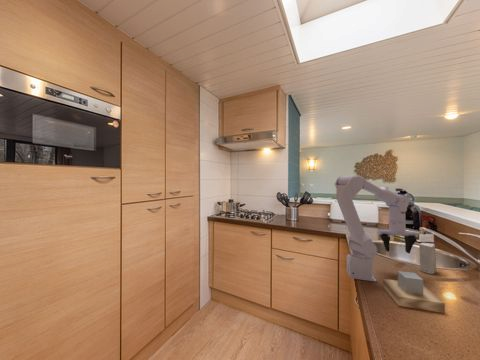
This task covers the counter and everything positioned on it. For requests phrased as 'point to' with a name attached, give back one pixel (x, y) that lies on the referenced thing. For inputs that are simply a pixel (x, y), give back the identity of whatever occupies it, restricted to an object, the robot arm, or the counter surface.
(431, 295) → the oak base
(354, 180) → the robot arm
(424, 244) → the skincare box
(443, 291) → the counter surface
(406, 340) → the counter surface
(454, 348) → the counter surface
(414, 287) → the grey cube
